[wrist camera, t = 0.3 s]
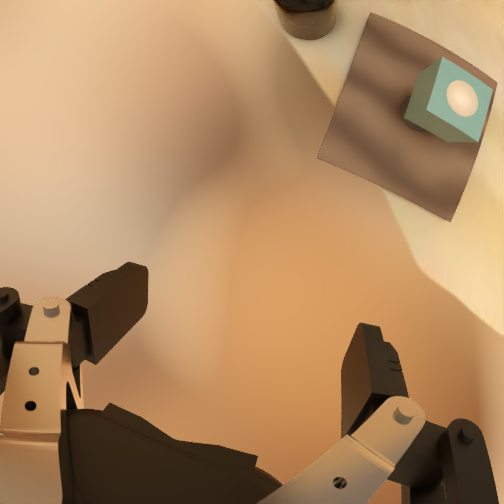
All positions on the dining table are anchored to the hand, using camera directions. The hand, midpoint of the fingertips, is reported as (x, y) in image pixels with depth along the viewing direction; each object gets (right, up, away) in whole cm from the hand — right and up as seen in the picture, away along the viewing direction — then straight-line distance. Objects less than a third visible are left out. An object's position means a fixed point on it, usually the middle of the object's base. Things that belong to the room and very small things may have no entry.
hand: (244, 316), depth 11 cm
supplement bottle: (+7, +31, +18) cm, 37 cm away
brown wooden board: (+19, +19, +20) cm, 33 cm away
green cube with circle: (+18, +16, +13) cm, 28 cm away
